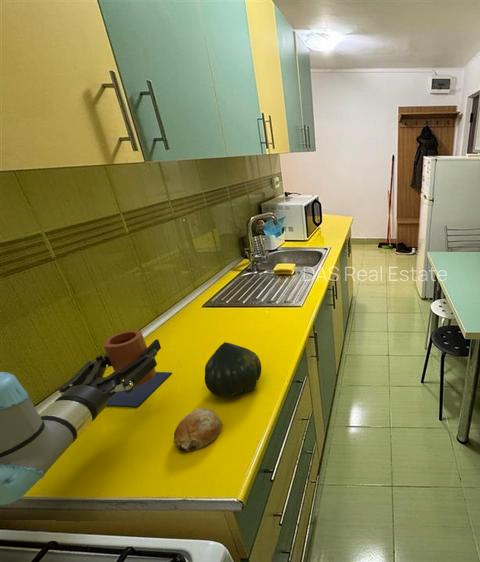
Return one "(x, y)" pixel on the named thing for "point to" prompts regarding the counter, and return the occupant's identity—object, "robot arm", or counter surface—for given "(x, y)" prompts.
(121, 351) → the jar
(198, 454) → the counter surface
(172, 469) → the counter surface
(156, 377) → the cloth
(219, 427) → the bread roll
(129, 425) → the counter surface
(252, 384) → the squash
